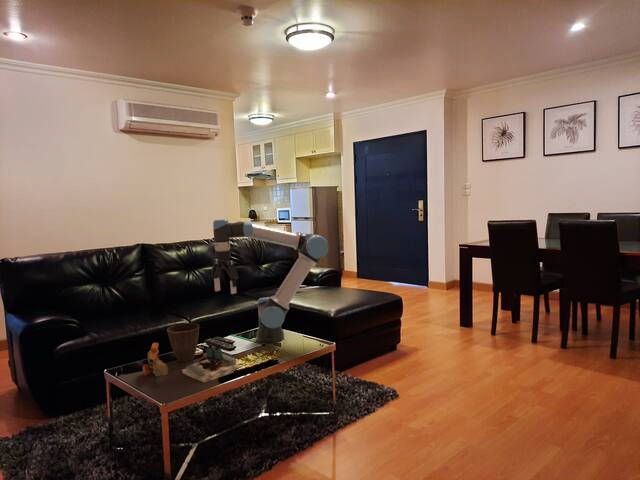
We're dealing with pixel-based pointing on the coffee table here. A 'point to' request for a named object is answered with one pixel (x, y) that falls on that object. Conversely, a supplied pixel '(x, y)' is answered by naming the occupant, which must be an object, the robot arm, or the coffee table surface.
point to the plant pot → (184, 340)
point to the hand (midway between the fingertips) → (225, 292)
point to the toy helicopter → (155, 363)
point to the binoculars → (212, 357)
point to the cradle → (207, 374)
